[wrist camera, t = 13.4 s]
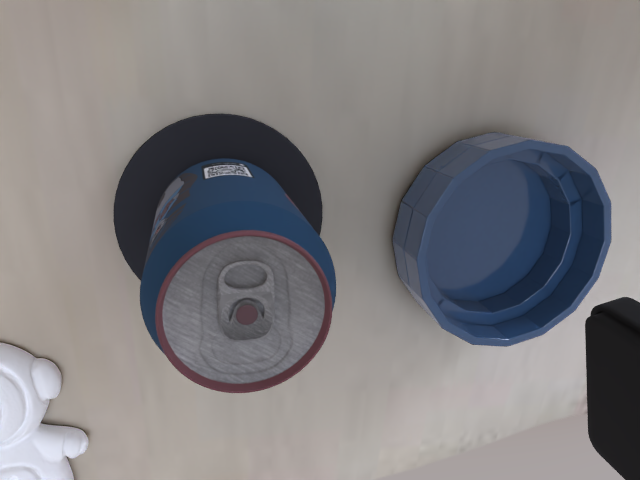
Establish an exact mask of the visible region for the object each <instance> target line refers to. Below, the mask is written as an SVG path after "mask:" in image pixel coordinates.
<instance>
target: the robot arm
mask: <svg viewBox="0 0 640 480" xmlns="http://www.w3.org/2000/svg"><path fill="white" fill-rule="evenodd" d="M585 333H586V369H587V406H588V434H589V438H590V441H591V443H592V445H593V447H594V448H595V449H596V451H597V452H598V453H599V454H600V455H601V456H602V457H603V458H604V459H605V460H606V461H607V462H608V463H609V464H610V465H611V466H612V467H613V468H614V469H615V470H616V471H617V472H618V473H619V474H620V475H621V476H622V477H623V478H624V479H625V480H640V303H639V302H637V301H635V300H634V299H631V298H628V297H622V298H619V299H616V300H613V301H610V302H607V303H603V304H600V305H597V306H595V307H594V308H593V309H592V311H591V316H590V317H588V318H587V320H586V324H585Z"/></svg>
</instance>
